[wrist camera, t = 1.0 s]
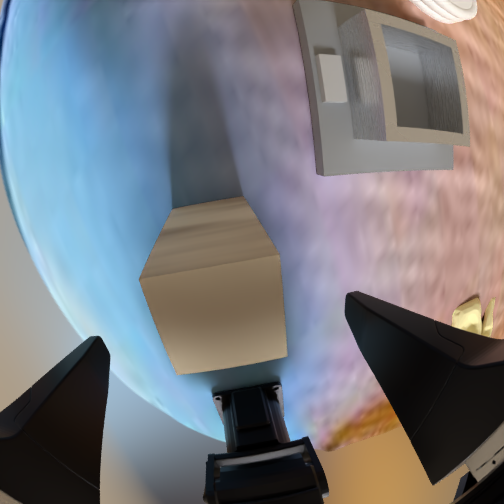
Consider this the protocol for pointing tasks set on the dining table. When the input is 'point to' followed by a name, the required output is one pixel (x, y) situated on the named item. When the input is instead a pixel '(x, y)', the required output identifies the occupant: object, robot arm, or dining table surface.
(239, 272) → the wooden block
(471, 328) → the cloth
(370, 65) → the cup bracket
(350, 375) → the dining table surface
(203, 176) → the dining table surface
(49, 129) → the dining table surface
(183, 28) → the dining table surface
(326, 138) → the plate
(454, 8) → the white thick disc
